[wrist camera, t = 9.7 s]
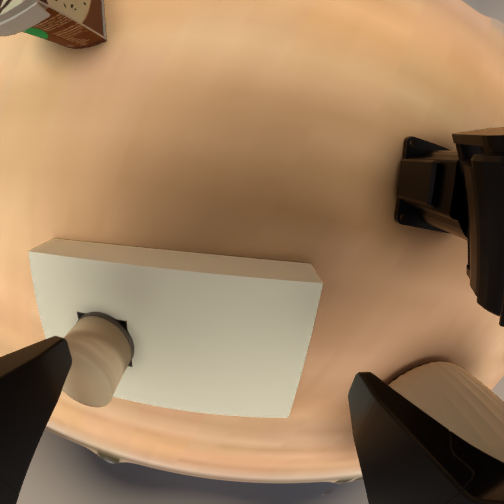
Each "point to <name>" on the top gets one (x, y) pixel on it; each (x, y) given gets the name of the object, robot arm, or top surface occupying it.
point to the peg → (97, 358)
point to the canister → (457, 403)
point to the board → (188, 321)
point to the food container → (56, 20)
